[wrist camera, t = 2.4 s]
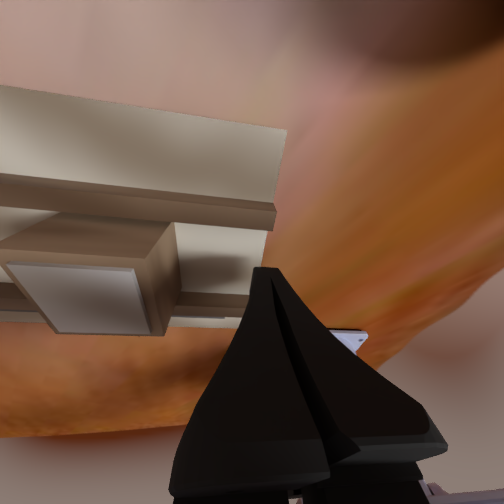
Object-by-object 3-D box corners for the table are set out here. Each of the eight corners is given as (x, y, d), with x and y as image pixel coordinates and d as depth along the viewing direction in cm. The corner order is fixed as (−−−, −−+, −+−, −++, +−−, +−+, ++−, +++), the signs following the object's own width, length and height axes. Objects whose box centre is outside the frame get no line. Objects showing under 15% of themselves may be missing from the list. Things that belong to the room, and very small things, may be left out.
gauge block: (182, 287, 12) (162, 340, 9) (101, 283, 12) (52, 338, 9) (173, 218, 10) (142, 262, 6) (67, 208, 9) (-22, 251, 6)
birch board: (247, 318, 16) (248, 342, 14) (-77, 306, 13) (-126, 334, 12) (282, 129, 8) (294, 130, 7) (-471, 10, 6) (-806, -44, 4)
